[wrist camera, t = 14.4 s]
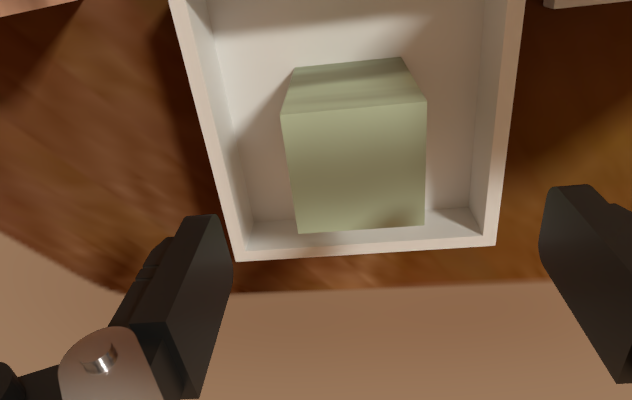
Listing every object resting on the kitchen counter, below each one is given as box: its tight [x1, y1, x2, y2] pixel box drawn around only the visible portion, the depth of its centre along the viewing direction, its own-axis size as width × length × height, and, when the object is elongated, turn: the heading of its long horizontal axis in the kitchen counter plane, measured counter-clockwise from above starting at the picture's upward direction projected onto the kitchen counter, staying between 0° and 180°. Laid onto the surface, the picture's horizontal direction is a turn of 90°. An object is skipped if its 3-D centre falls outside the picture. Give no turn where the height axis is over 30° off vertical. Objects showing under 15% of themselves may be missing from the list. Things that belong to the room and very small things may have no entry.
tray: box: [168, 0, 526, 262], centre depth 19 cm, size 12×12×3 cm
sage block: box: [280, 57, 427, 234], centre depth 17 cm, size 4×4×6 cm
